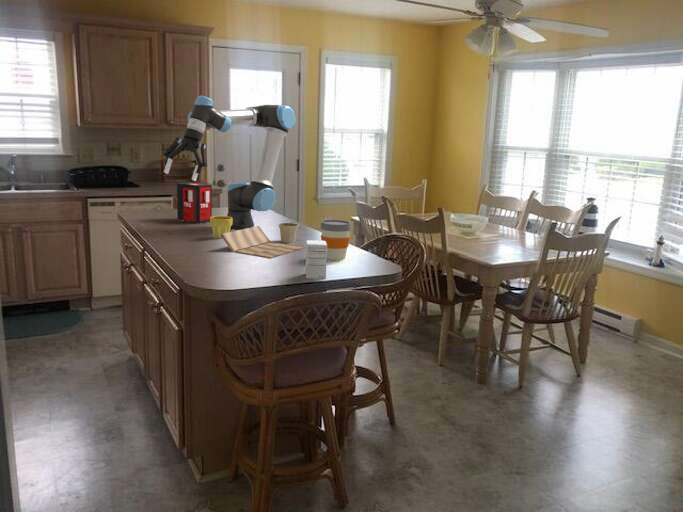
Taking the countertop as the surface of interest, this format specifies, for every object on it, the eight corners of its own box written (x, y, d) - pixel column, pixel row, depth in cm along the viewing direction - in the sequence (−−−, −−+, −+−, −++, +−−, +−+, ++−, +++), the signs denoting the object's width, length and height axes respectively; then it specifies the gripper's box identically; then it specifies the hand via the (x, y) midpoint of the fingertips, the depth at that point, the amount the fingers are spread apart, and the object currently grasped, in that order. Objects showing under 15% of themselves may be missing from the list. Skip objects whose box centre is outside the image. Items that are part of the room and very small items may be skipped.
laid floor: (269, 244, 268) (269, 241, 267) (304, 249, 259) (304, 246, 259) (234, 253, 245) (234, 251, 245) (271, 260, 237) (271, 257, 237)
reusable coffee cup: (339, 262, 238) (340, 225, 234) (313, 258, 244) (314, 222, 241) (355, 257, 248) (356, 222, 245) (330, 253, 254) (331, 218, 251)
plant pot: (237, 238, 277) (237, 218, 275) (218, 241, 269) (218, 219, 267) (223, 235, 284) (223, 215, 282) (205, 237, 276) (205, 216, 274)
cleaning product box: (177, 220, 320) (176, 183, 315) (189, 218, 327) (189, 182, 323) (199, 224, 311) (199, 186, 307) (211, 222, 319) (211, 185, 314)
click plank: (257, 227, 269) (259, 225, 269) (268, 242, 268) (270, 241, 267) (220, 235, 247) (222, 233, 246) (232, 252, 245) (234, 250, 245)
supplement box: (305, 273, 218) (306, 239, 216) (325, 273, 219) (326, 240, 216) (305, 278, 211) (306, 243, 208) (326, 279, 212) (327, 244, 209)
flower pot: (301, 242, 275) (302, 223, 274) (293, 245, 267) (293, 226, 265) (283, 240, 278) (283, 222, 276) (274, 243, 270) (274, 224, 268)
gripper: (165, 121, 257) (150, 167, 255) (217, 133, 251) (201, 180, 249) (173, 128, 264) (158, 172, 262) (223, 140, 259) (208, 185, 256)
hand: (179, 176), depth 255 cm, fingers open, 13 cm apart
